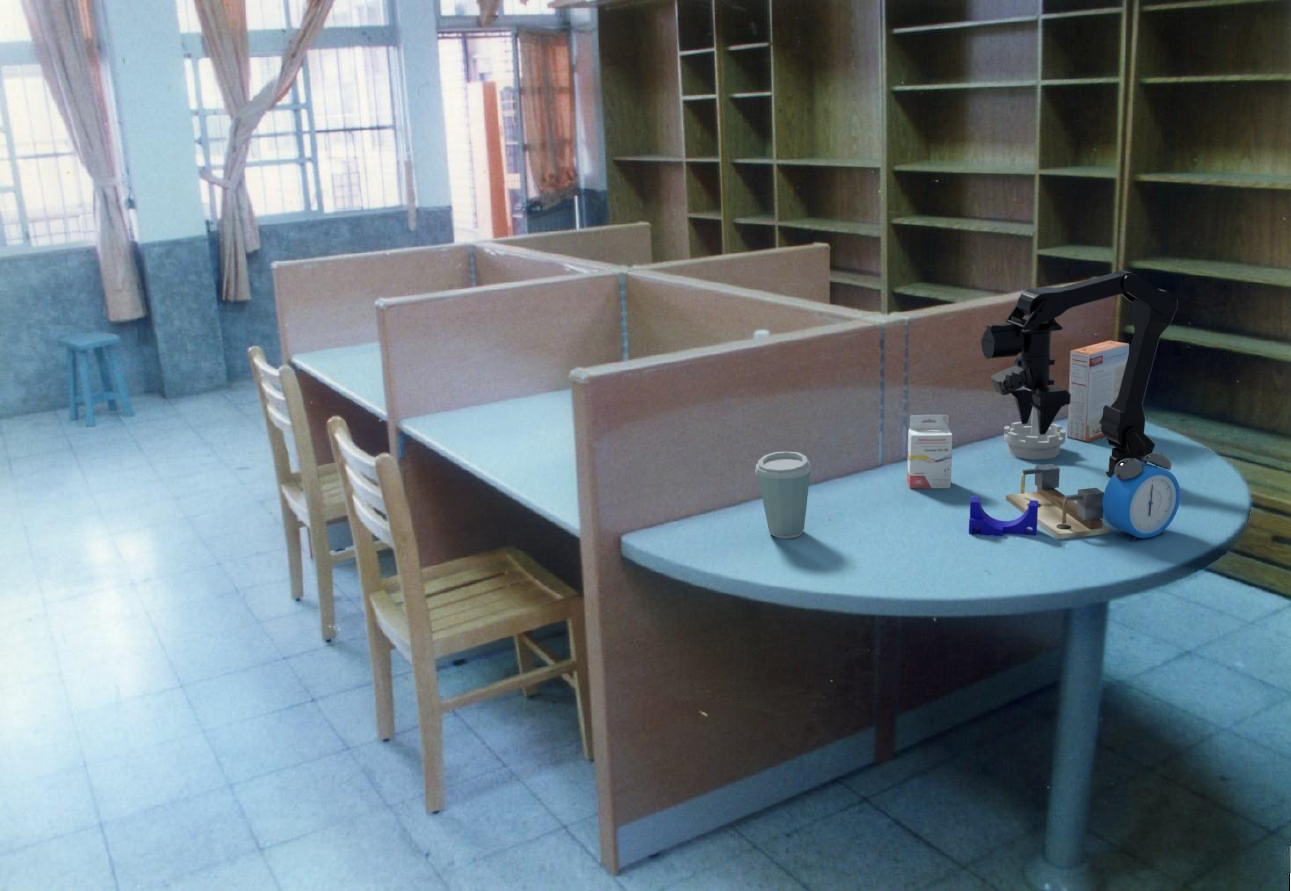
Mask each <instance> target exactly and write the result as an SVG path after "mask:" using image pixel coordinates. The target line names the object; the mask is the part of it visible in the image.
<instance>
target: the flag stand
mask: <svg viewBox="0 0 1291 891" xmlns="http://www.w3.org/2000/svg"><path fill="white" fill-rule="evenodd" d="M1030 421H1031V422H1030V424H1031V425H1024V424H1022V423H1021V421H1016V422H1011V423H1010V424H1011V426H1009V425H1005V426H1004V430H1003V431H1004V432H1003V439H1004V441H1005V442H1006V443H1007V444H1008V445H1007V446H1008V448H1007V452H1008V451H1009V452H1008V454H1009V453H1010V454H1009V455H1011V456H1013V455H1014V456H1013V457H1015V456H1016V457H1015V458H1019V459H1025V460H1034V461H1035V460H1038V461H1039V460H1047V459H1048V460H1049V459H1053V457H1054V458H1056V456H1057V455H1058V456H1059V455H1060V451H1061V450H1060V449H1061V446H1062V445H1063V444H1064V443H1065V442H1066V435H1067V433H1066V432H1067V431H1066V429H1062V428H1063V426H1061V425H1060V424H1056V423H1051V425H1050V427H1049V429H1048V430H1047V432H1046V434H1044V435H1040V433H1039V427H1038V416H1037V410H1036V409H1035V408H1034V407H1033V408H1032V411H1031V420H1030ZM1058 456H1057V457H1058Z"/></svg>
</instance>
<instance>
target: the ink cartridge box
mask: <svg viewBox="0 0 1291 891" xmlns="http://www.w3.org/2000/svg"><path fill="white" fill-rule="evenodd" d="M928 420H931V421H936V422H923V421H928ZM949 421H950V416H949V415H948V414H920V415H919V414H918V415H917V414H916V415H915V414H911V415H910V416H909V429H907V430H908V436H907V437H908V438H907V468H906V469H907V472H906V473H907V474H906V481H907V484H908V487H909V489H951V486H952V485H951V484H952V462H953V460H952V457H953V456H952V454H953V433H952V431H951V429H950V428H949V426H950V425H949Z"/></svg>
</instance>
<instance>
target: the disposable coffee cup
mask: <svg viewBox="0 0 1291 891" xmlns="http://www.w3.org/2000/svg"><path fill="white" fill-rule="evenodd" d="M754 471H755V474H756V475H757V477H758V483H759V489H760V494H761V498H762V504H763V507H764V508H763V509H764V513H765V518H766V523H767V527H768V532H769V533H770V536H771V535H773V536H775V537H777V538H776V539H782V540H787V539H794V538H797V537H800V536H801V535H803V533H804V530H805V522H806V514H807V513H806V512H807V505H808V497H809V487H810V486H809V485H810V478H811V472H812V471H813V470H812V465H811V462H810V461H809V460H808V457H807V456H806V455H804V454H803V453H801V452H796V451H786V450H784V451H772V452H771V453H768V454H765V455H763V456H762V457H761V458H760V459H758V461H757V463H756V464H755V470H754ZM773 536H772V537H773ZM775 537H774V538H775Z"/></svg>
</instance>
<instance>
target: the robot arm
mask: <svg viewBox="0 0 1291 891" xmlns="http://www.w3.org/2000/svg"><path fill="white" fill-rule="evenodd" d="M1118 295H1121V296H1123V298H1125V299H1126V300H1128V301H1129V302H1131V303H1132V305H1131V306H1132V308H1131V319H1132V323H1133V328H1134V331H1133V335H1132V339H1131V344H1130V346H1129V355H1128V359H1127V363H1126V367H1125V370H1124V374H1123V378H1122V382H1121V386H1120V390H1119V394H1118V397H1117V399H1116V401H1115V402H1114V403H1113V404H1112V405H1111V406H1108V405H1105V406H1104V408H1103V416H1102V418H1101V420H1100V422H1099V423H1100V424H1101V432H1102V433H1103V434H1104V437H1105V438H1106V440H1107V443H1108V445H1110V446H1112V448H1111V455H1110V456H1108V457H1109V458H1108V459H1109V460H1108V471H1106V473H1105V474H1106V475H1107V476H1108V477H1109V478H1111V477H1112V476H1113V475H1114V473H1115V472H1114V470H1115V466H1116V465H1117V463H1118V462H1119V461H1121V460H1123V459H1126V458H1134V459H1137V460H1139V461H1141V462H1144V461H1142V459H1144V457H1145V456H1146V455H1147V454H1149V453H1154V452H1153V451H1154V450H1155V446H1156V444H1155V443H1154V441H1153V440H1151V438H1149V437H1148V435H1146V434H1145V427H1146V416H1145V411H1144V406H1143V404H1144V400H1145V395H1146V391H1147V387H1148V385H1149V384H1148V383H1149V379H1150V377H1151V376H1150V374H1151V373H1152V369H1153V364H1154V360H1155V357H1156V352H1157V348H1158V346H1159V341H1160V338H1161V335H1162V334H1163V333H1164V332H1165V330H1166V329H1167V328H1168V327H1169V326H1171V324H1172V321H1173V319H1174V316H1175V314H1176V311H1177V310H1178V306H1179V305H1178V304H1179V301H1178V299H1177V298H1176V296H1175V294H1174V293H1172V292H1171V291H1168V290H1165V289H1161V288H1158V287H1156V286H1155V285H1153V284H1150V283H1149V282H1147V281H1146V280H1144V279H1143V278H1140V277H1139V276H1138V275H1137V274H1136V273H1135V272H1130V271H1127V270H1125V269H1119V270H1116V271H1114V272H1112V273H1109V274H1105V275H1100V276H1097V277H1093V278H1089V279H1087V280H1082V281H1079V282H1076V283H1072V284H1068V285H1064V286H1058V287H1057V286H1056V287H1054V286H1053V287H1050V286H1049V287H1047V286H1045V287H1042V286H1041V287H1033V288H1032V287H1031V288H1027V289H1024V290H1023V291H1022V292H1021V294H1020V295H1019V297H1018V299H1017V303H1016V305H1015V306H1014V308H1013V309H1012V311H1011V312H1010V313H1009V315H1008V317H1007V318H1005V319H1006V320H1005V323H987V324H986V330H984V332H983V334H982V337H981V339H980V346H981V350H982V353H983V356H984V357H985V358H986V359H987V360H991V359H1002V358H1011V357H1016V358H1015V360H1014V365H1013V366H1011V367H1008V368H1005V369H1003V370H1001V371H999V372H997V373H996V372H995V374H992V375H991V376H990V380H991V382H992V385H993V388H994V391H995V392H996V393H999V394H1000V395H1002V396H1007V395H1010V396H1011V397H1013V399H1014V401H1015V405H1016V409H1017V413H1018V416H1019V420H1020V422H1021V423H1022V424H1023V425H1027V424H1028V423H1029V420H1030V417H1031V415H1032V408H1033V407H1034V408H1035V409H1036V410H1037V416H1038V427H1039V433H1040V435H1044V434H1046V432H1047V430H1048V429H1049V427H1050V428H1051V424H1053V421H1055V418H1056V416H1057V415H1058V413H1059V412H1060V410H1061V409H1062V407H1065V406H1066V405H1067V406H1068V404H1070V400H1071V394H1070V393H1069V390H1067V389H1065V388H1063V387H1061V386H1059V385H1056V386H1054V384H1055V379H1053V378H1051V366H1054V365H1055V363H1056V362H1055V361H1056V359H1054V358H1052V356H1051V355H1052V332H1056V331H1057V332H1058V331H1061V330H1063V326H1062V325H1061V324H1059V323H1058V322H1057V321H1056V318H1058V317H1059V316H1062V315H1063V314H1064V313H1066V312H1067V311H1068V310H1070V309H1072V308H1074V307H1079V306H1082V305H1084V304H1085V305H1086V304H1089V303H1093V302H1096V301H1101V300H1103V299H1108V298H1110V297H1114V296H1118ZM1025 318H1027V319H1025ZM1019 354H1020V355H1019ZM1018 355H1019V356H1018ZM1145 463H1148V462H1147V461H1145Z"/></svg>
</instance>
